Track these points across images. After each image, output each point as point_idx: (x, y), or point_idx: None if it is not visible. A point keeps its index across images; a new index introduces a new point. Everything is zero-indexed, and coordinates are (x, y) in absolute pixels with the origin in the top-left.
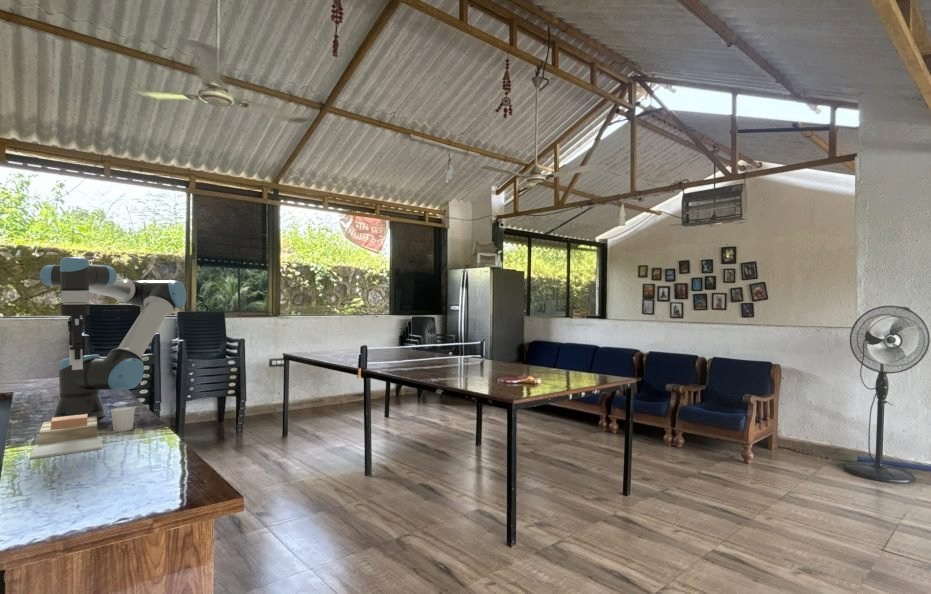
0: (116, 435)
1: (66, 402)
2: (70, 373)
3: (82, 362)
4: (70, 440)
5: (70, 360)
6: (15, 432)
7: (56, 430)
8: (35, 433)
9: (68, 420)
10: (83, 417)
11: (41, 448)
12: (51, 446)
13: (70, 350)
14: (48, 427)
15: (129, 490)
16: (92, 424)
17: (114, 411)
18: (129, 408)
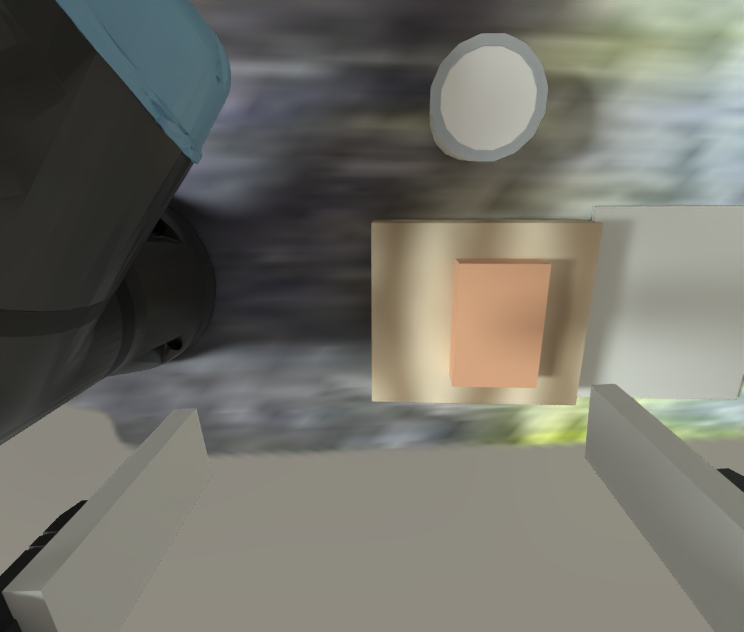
0: (583, 149)
1: (142, 350)
2: (19, 409)
3: (660, 422)
4: None
5: (192, 501)
6: (285, 450)
7: (581, 357)
8: (341, 400)
9: (541, 330)
10: (541, 278)
11: (638, 377)
12: (632, 353)
13: (125, 606)
14: None
15: None
16: (563, 240)
17: (522, 145)
18: (503, 65)
